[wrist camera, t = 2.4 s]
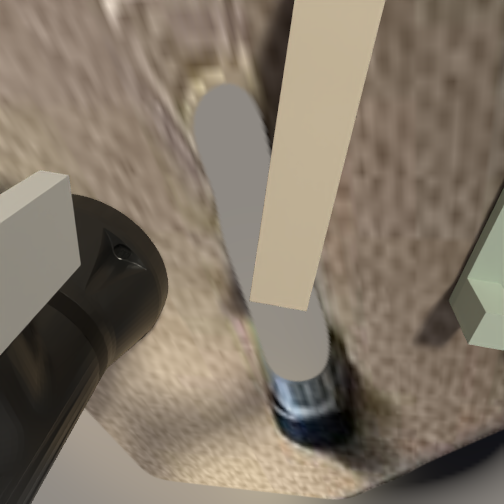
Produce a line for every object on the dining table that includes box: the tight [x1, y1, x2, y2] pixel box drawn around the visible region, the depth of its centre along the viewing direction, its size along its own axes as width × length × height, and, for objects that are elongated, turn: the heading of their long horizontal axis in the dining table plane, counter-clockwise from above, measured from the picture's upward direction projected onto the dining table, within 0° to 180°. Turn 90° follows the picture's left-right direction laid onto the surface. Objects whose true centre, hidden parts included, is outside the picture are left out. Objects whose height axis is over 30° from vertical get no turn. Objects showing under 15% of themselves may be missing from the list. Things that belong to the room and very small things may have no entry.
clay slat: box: [250, 0, 385, 311], centre depth 23 cm, size 20×4×9 cm, turn 173°
